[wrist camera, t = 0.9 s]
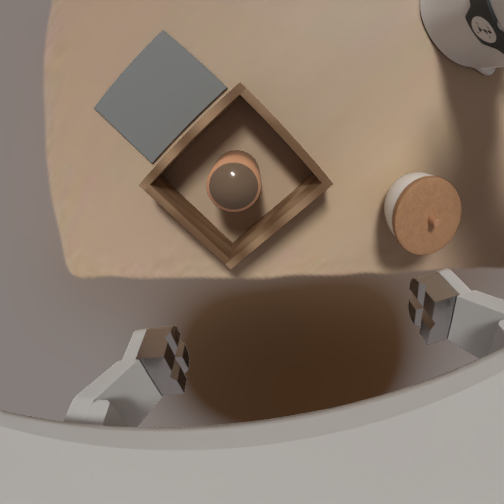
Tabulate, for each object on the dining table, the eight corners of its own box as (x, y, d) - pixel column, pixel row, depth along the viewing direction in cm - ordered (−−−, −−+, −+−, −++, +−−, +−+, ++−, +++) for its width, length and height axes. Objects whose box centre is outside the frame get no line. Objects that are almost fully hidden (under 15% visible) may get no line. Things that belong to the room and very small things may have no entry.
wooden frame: (241, 85, 35) (240, 82, 30) (324, 174, 40) (333, 183, 36) (150, 175, 40) (138, 185, 35) (232, 251, 45) (230, 269, 41)
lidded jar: (444, 182, 40) (480, 203, 32) (414, 241, 45) (442, 271, 36) (392, 151, 38) (425, 165, 30) (361, 217, 43) (385, 245, 34)
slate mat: (163, 30, 31) (162, 30, 31) (227, 87, 35) (227, 87, 35) (94, 107, 35) (93, 107, 35) (152, 162, 39) (152, 163, 39)
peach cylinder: (237, 141, 38) (234, 148, 32) (268, 173, 40) (272, 187, 34) (204, 172, 40) (195, 186, 34) (235, 203, 42) (233, 222, 36)
